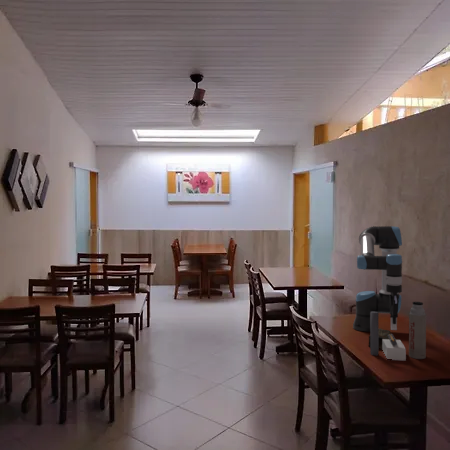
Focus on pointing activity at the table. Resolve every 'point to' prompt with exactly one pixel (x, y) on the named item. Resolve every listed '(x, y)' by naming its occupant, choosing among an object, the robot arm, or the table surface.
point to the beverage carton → (381, 336)
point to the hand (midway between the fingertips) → (393, 329)
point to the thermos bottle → (417, 331)
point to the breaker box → (394, 350)
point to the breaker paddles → (392, 339)
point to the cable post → (374, 333)
